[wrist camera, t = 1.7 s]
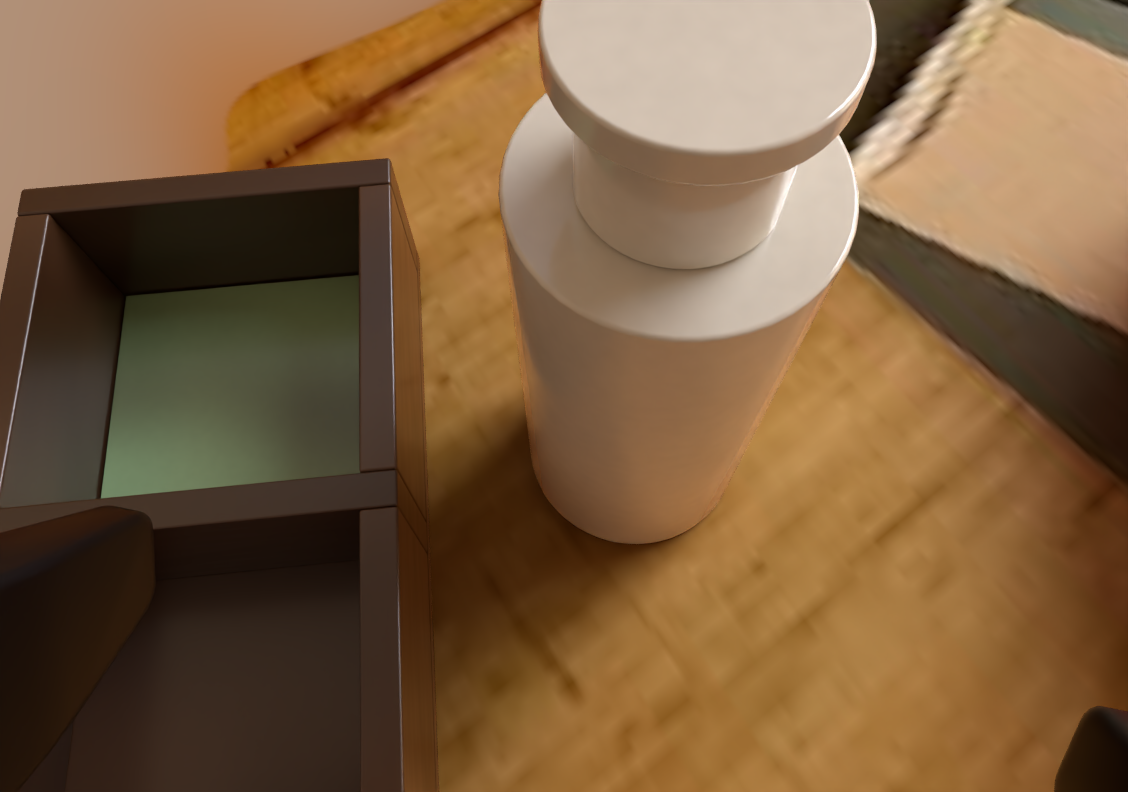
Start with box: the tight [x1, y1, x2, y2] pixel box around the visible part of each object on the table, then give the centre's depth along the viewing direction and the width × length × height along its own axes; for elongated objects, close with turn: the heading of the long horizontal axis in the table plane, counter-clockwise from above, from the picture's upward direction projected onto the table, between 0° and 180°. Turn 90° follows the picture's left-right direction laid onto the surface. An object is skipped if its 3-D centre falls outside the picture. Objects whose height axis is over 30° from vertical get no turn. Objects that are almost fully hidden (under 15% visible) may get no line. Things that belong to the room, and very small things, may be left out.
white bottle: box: [499, 0, 877, 544], centre depth 17 cm, size 5×5×14 cm
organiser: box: [0, 158, 439, 792], centre depth 20 cm, size 17×9×4 cm, turn 6°
